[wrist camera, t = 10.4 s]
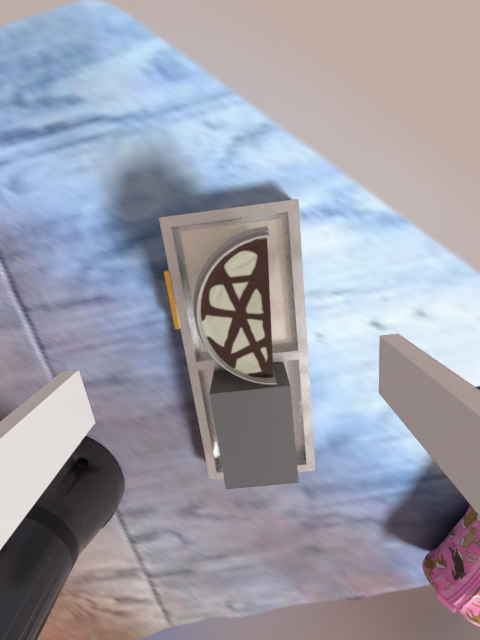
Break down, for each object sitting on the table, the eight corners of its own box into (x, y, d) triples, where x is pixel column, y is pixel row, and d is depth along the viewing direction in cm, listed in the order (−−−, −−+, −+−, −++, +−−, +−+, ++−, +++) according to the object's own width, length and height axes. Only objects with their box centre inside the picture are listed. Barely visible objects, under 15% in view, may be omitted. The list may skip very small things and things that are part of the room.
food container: (198, 230, 30) (177, 233, 20) (261, 225, 30) (269, 226, 20) (211, 346, 33) (198, 395, 24) (267, 342, 33) (276, 390, 24)
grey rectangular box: (228, 456, 38) (226, 489, 33) (214, 370, 35) (209, 394, 30) (291, 450, 38) (298, 482, 33) (283, 363, 34) (290, 385, 29)
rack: (208, 465, 40) (205, 481, 37) (160, 218, 31) (152, 218, 28) (310, 455, 39) (315, 471, 37) (293, 200, 30) (298, 198, 27)
